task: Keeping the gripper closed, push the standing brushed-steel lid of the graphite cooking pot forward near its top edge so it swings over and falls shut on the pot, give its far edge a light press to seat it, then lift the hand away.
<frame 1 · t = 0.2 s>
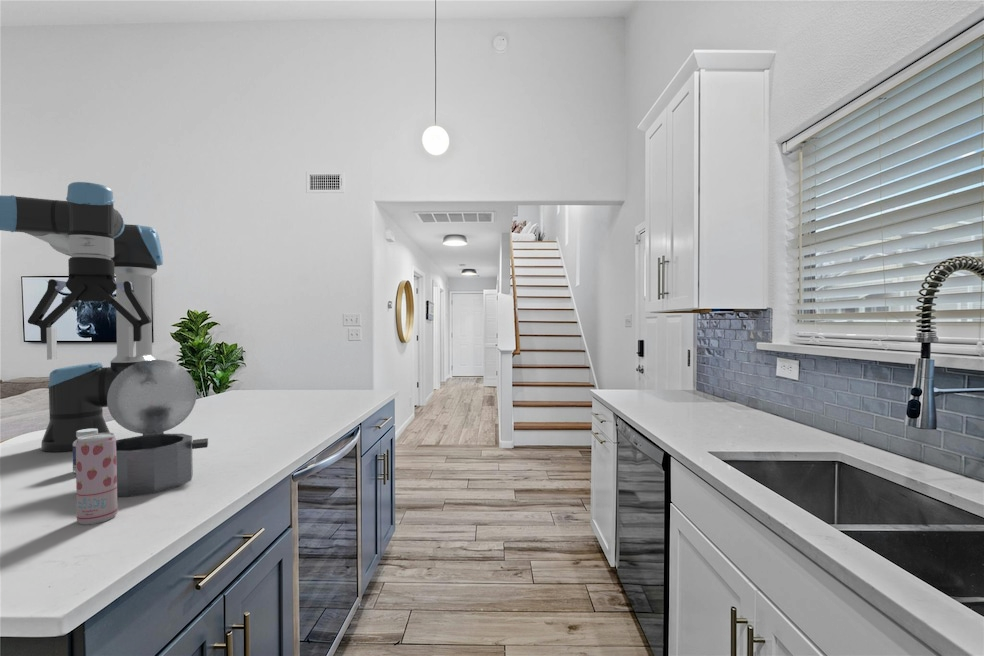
hand: (93, 358, 103), 28 cm above the table, fingers open, 13 cm apart
lid: (154, 397, 116), point 17 cm above the table, hinge at 100.0°
pill bottle: (87, 471, 115), on the table
pot: (147, 483, 106), on the table
beverage can: (97, 519, 87), on the table
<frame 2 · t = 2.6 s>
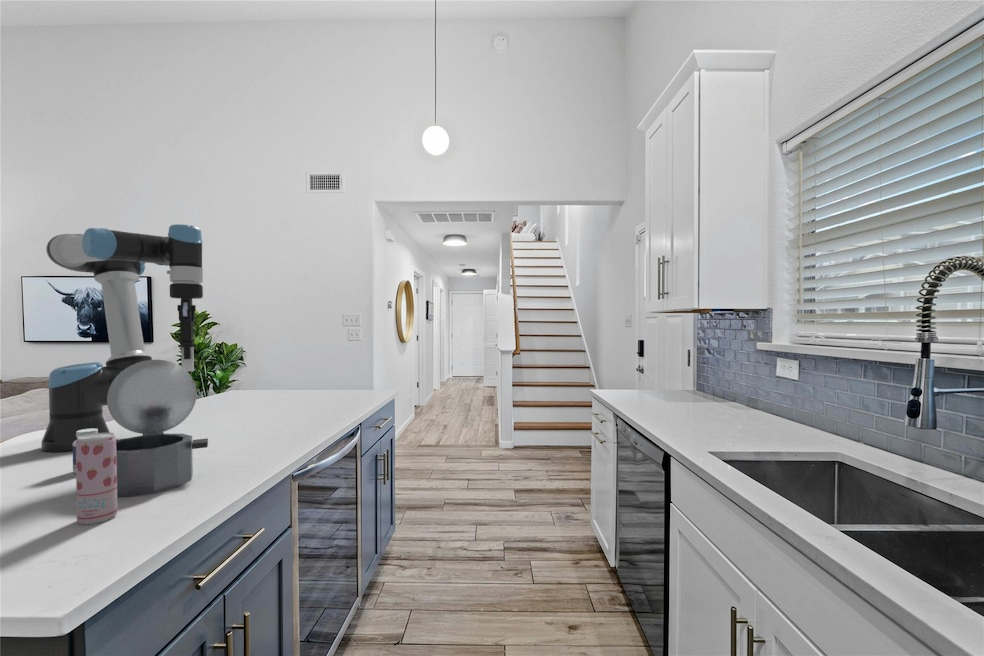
hand: (187, 371, 130), 22 cm above the table, fingers closed
nothing on the table moved.
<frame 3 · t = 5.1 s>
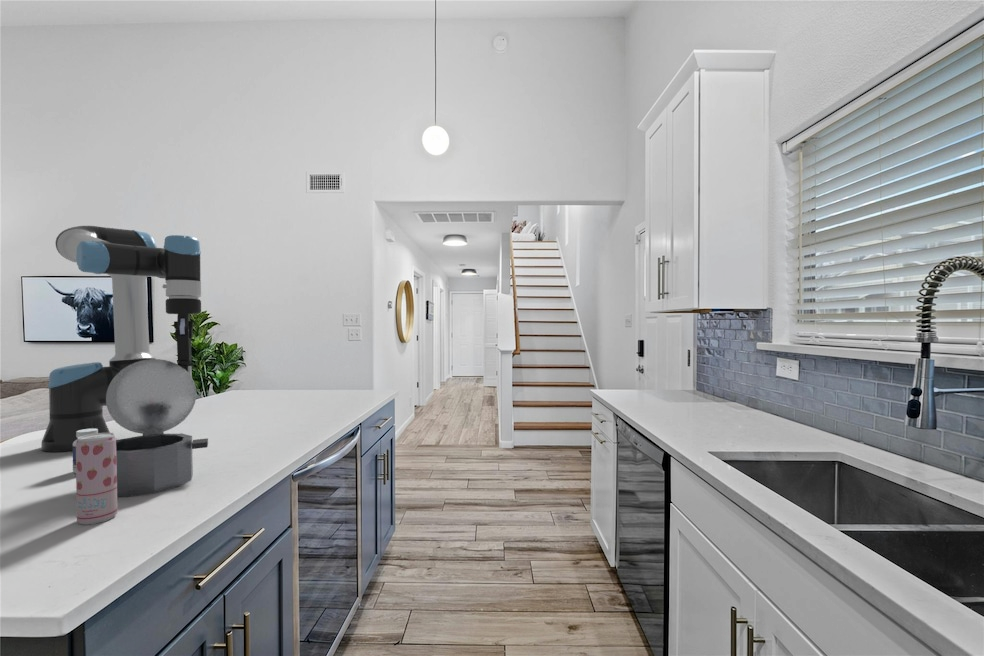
hand: (185, 392, 121), 18 cm above the table, fingers closed
lid: (153, 397, 115), point 18 cm above the table, hinge at 93.0°, touching gripper
everything else where it was.
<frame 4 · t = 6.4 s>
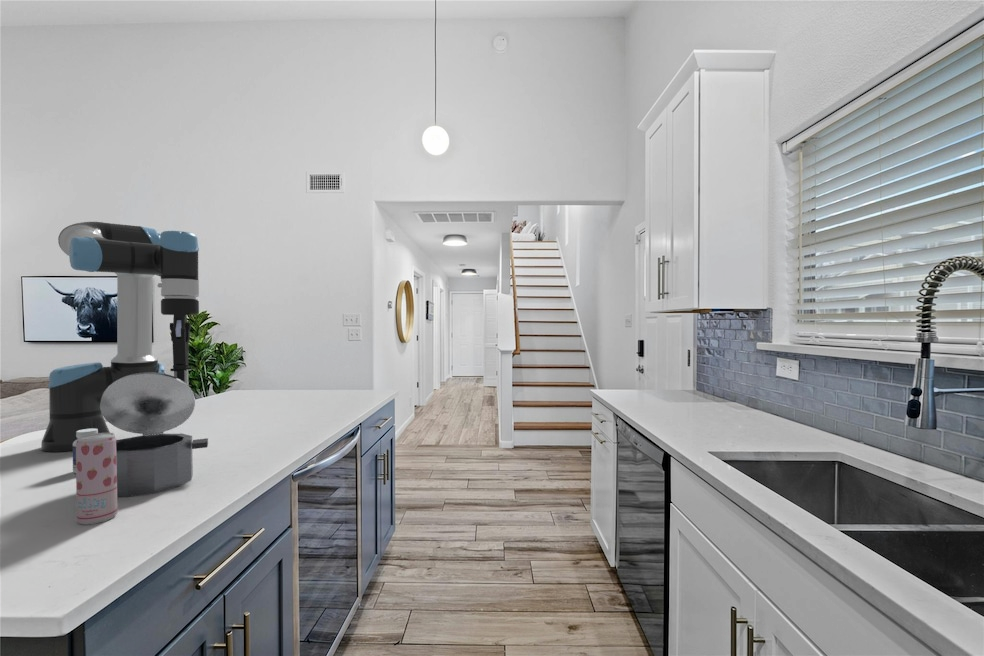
hand: (181, 398, 114), 18 cm above the table, fingers closed
lid: (150, 402, 111), point 17 cm above the table, hinge at 56.9°, touching gripper
everything else where it was.
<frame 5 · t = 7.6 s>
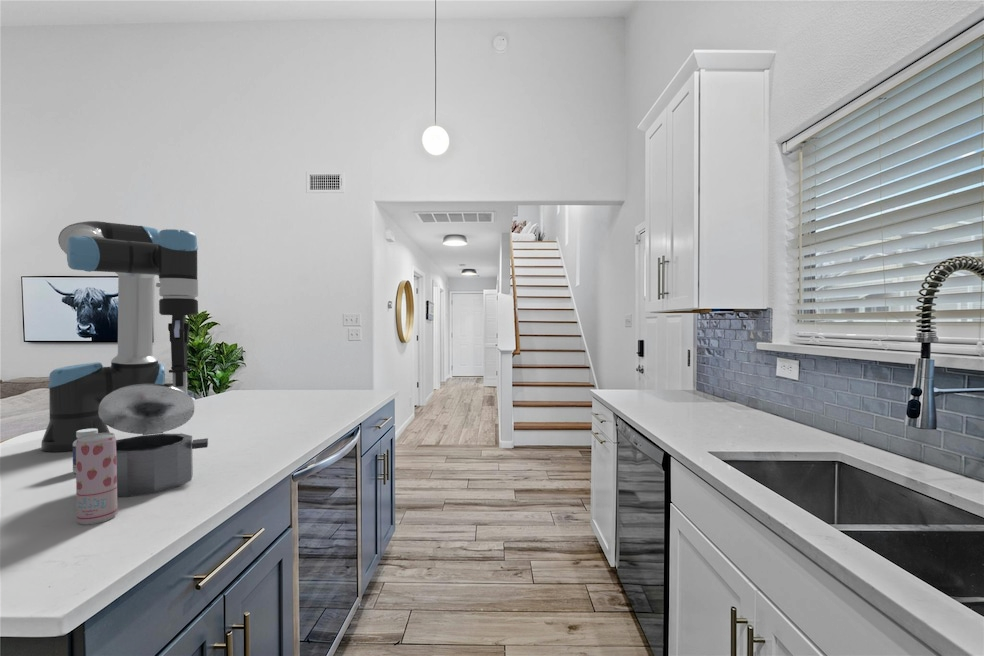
hand: (180, 400, 111), 17 cm above the table, fingers closed
lid: (149, 407, 109), point 16 cm above the table, hinge at 44.8°, touching gripper
everything else where it was.
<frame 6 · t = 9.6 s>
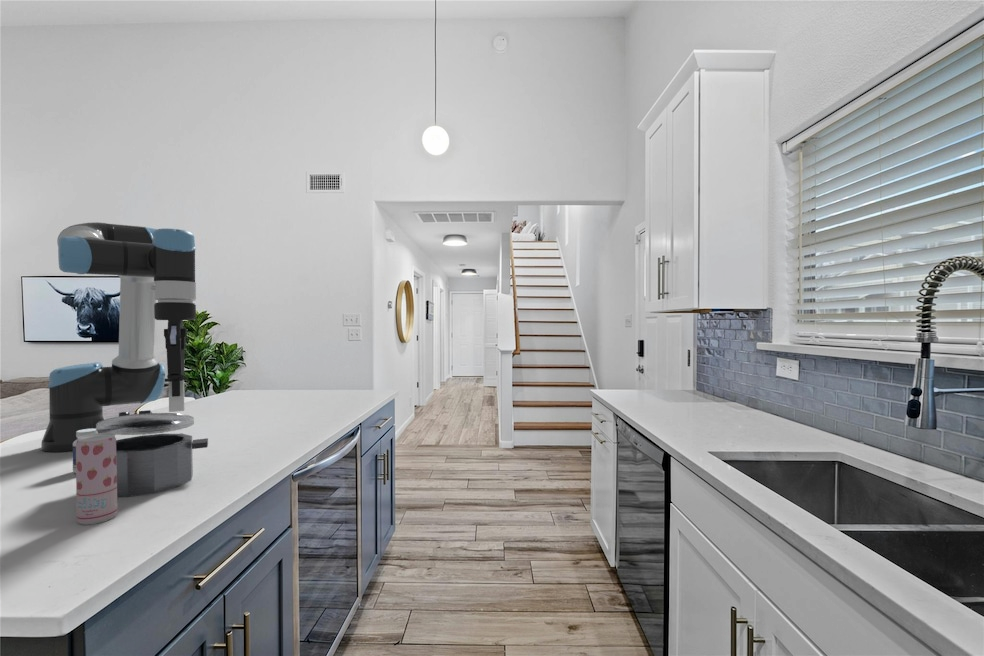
hand: (176, 410, 104), 16 cm above the table, fingers closed
lid: (147, 421, 107), point 13 cm above the table, hinge at 21.5°
everything else where it was.
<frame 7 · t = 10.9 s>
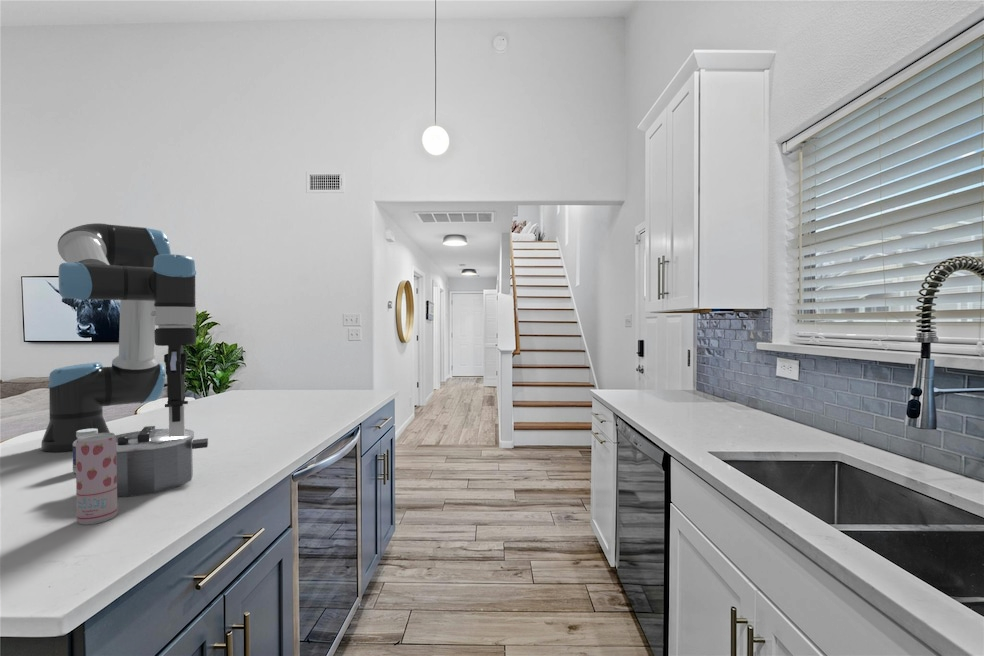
hand: (177, 435, 105), 11 cm above the table, fingers closed
lid: (147, 435, 106), point 10 cm above the table, hinge at -0.2°
everything else where it was.
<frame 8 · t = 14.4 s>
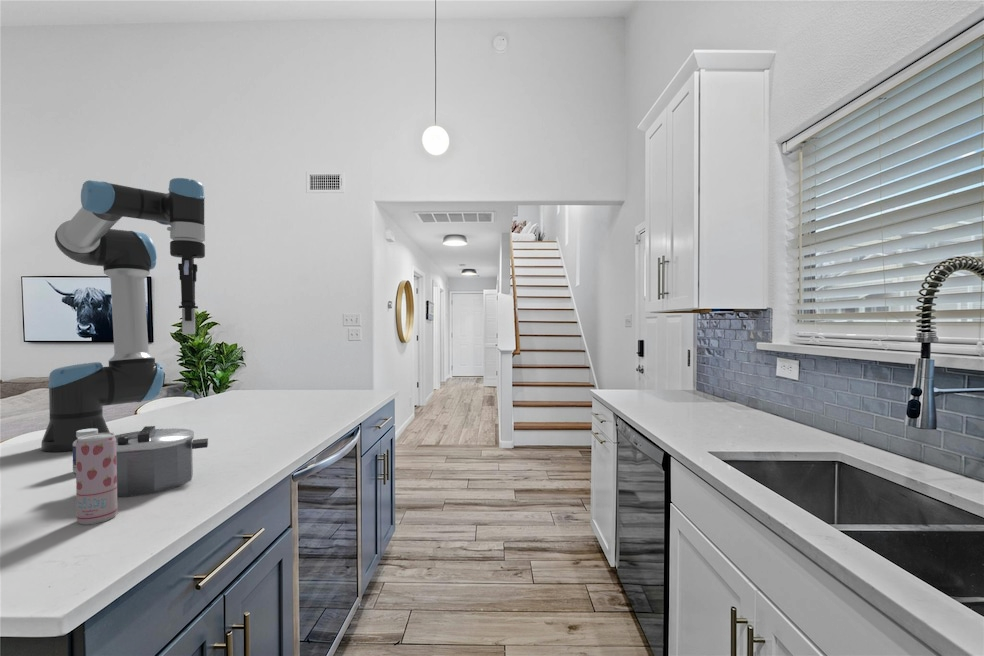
hand: (188, 334, 123), 32 cm above the table, fingers closed
nothing on the table moved.
at the end: lid at +0° (first picture: +100°); lid touching nothing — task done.
